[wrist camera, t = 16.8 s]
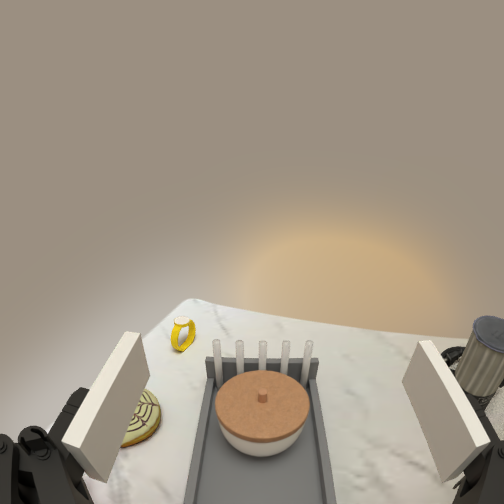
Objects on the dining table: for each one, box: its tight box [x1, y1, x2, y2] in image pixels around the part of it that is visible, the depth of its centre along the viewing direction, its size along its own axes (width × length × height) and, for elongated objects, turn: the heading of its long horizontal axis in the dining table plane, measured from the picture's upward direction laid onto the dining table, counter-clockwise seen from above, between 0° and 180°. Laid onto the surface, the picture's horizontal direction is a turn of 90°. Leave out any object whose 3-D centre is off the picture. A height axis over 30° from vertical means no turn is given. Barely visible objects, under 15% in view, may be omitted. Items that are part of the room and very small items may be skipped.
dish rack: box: [183, 339, 336, 504], centre depth 30 cm, size 16×24×11 cm, turn 178°
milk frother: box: [441, 316, 504, 411], centre depth 36 cm, size 14×16×15 cm
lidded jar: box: [215, 370, 310, 457], centre depth 32 cm, size 11×11×9 cm
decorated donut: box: [121, 388, 161, 447], centre depth 35 cm, size 10×11×4 cm
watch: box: [171, 316, 196, 351], centre depth 52 cm, size 6×3×6 cm, turn 156°
